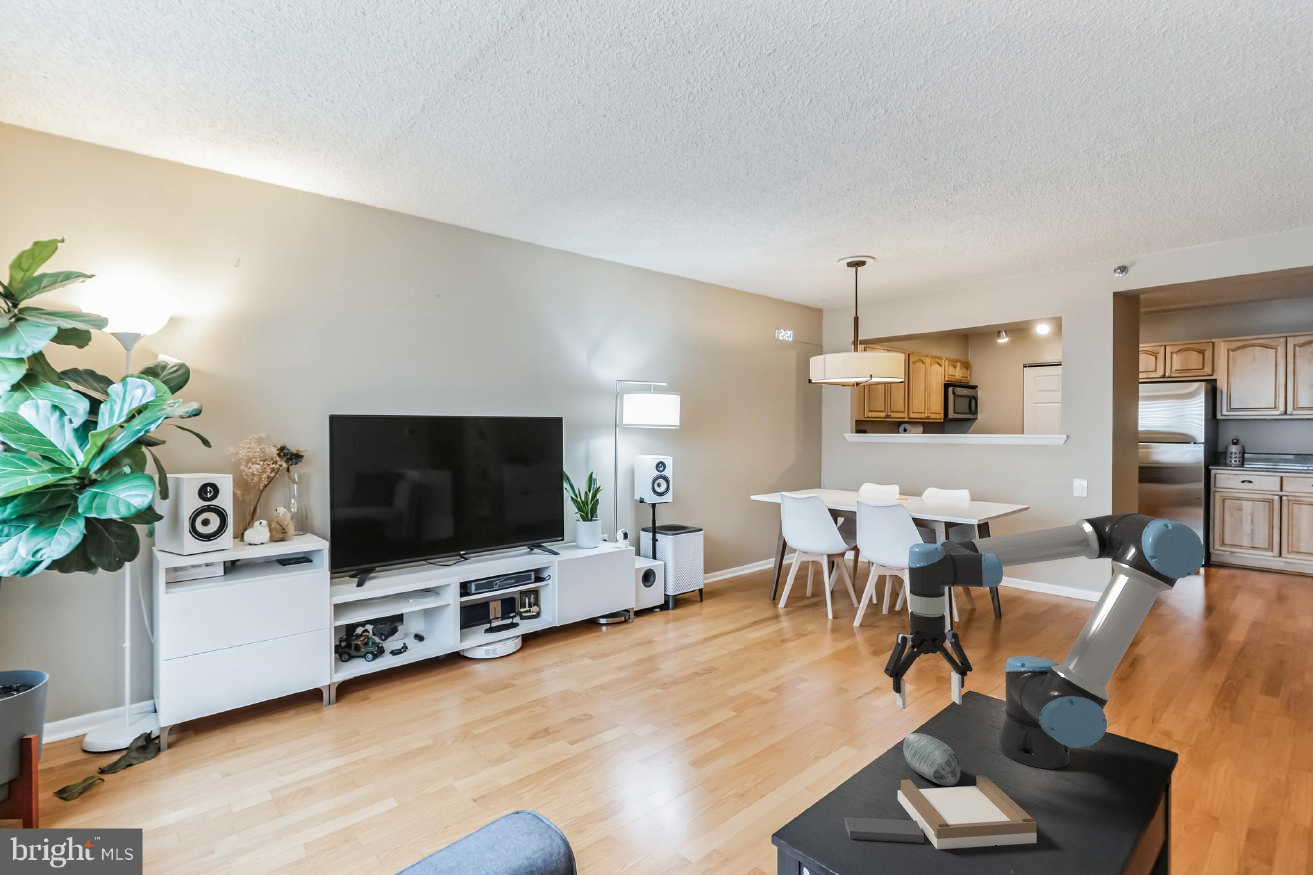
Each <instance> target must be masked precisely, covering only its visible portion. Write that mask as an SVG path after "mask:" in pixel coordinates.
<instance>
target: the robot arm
mask: <svg viewBox="0 0 1313 875" xmlns="http://www.w3.org/2000/svg"><path fill="white" fill-rule="evenodd" d="M1080 557H1085V558H1087V559H1088V560H1096V559H1098V560H1099V559H1111V561H1110V564H1111V565H1112V569H1113V570H1114V572H1113V575H1112V576H1111V577H1110V580H1109V581H1108V583H1107V585H1106V587H1105V588H1104V590H1103V592H1102V594H1101V596H1100V598H1099V599H1098V601H1097V603H1096V604H1095V606H1094V608H1093V610H1092V612H1091V614H1090V615H1089V617H1088V619H1087V621H1086V622H1085V624H1084V625H1083V627H1082V629H1081V631H1080V633H1079V634H1078V636H1077V638H1076V640H1075V642H1074V644H1073V645H1072V647H1071V648H1070V650H1069V652H1068V654H1067V656H1066V657H1065V659H1064V661H1063V663H1061V664H1060V663H1058V662H1057V661H1054V660H1052V659H1049V658H1048V659H1047V658H1042V657H1038V656H1036V657H1035V656H1028V655H1024V656H1022V655H1020V656H1019V655H1018V656H1017V655H1016V656H1012V657H1009V658H1008V659H1007V660H1006V663H1005V670H1004V672H1005V717H1004V719H1003V722H1002V724H1001V728H1000V731H999V733H998V734H997V747H998V749H999V750H1000V752H1001V753H1002V754H1003V755H1005V756H1007V757H1008V758H1009V759H1011V760H1014V761H1015V762H1019V763H1021V764H1023V765H1027V766H1031V767H1034V768H1041V769H1051V770H1054V769H1062V768H1064V767H1066V766H1069V764H1070V762H1071V761H1070V760H1071V759H1070V753H1071V752H1070V749H1069V747H1070V748H1075V749H1078V748H1084V747H1089V746H1092V745H1095V744H1096V743H1097V742H1099V741H1100V740H1101V739H1102V738H1103V737H1104V735H1105V734H1106V731H1107V729H1108V720H1107V719H1106V718H1107V717H1106V714H1105V712H1104V708H1105V707H1106V705H1107V703H1108V702H1109V699H1110V697H1109V696H1108V693H1107V691H1106V687H1107V685H1108V683H1109V682H1110V680H1111V678H1112V677H1113V675H1114V673H1115V671H1116V669H1117V668H1118V666H1119V664H1121V663H1120V662H1121V661H1122V659H1123V657H1124V656H1125V654H1126V652H1127V650H1128V648H1129V647H1130V646H1131V644H1132V641H1133V640H1134V639H1135V636H1136V634H1137V633H1138V631H1139V630H1140V628H1141V626H1142V624H1143V622H1144V621H1145V619H1146V617H1147V616H1148V614H1149V612H1150V611H1151V608H1152V606H1153V605H1154V603H1155V602H1156V600H1157V598H1158V596H1159V595H1160V593H1162V592H1166V591H1172V590H1173V588H1174V587H1175V585H1176V583H1177V581H1178V580H1179V579H1185V578H1187V577H1188V576H1189V577H1190V576H1193V575H1195V574H1196V573H1197V572H1198V571H1199V570H1200V568H1202V565H1203V563H1204V560H1205V547H1204V544H1203V543H1202V540H1201V538H1200V536H1199V535H1198V533H1197V532H1196V531H1195V530H1193V528H1192V527H1190V526H1188V525H1186V524H1183V523H1181V522H1179V521H1176V520H1173V519H1169V518H1161V517H1156V516H1151V515H1146V514H1142V513H1138V512H1137V513H1136V512H1121V513H1120V512H1119V513H1115V514H1106V515H1101V516H1097V517H1096V516H1095V517H1090V518H1084V519H1083V518H1081V519H1078V520H1076V521H1075V523H1074V524H1073V525H1072V524H1071V525H1065V526H1059V527H1052V528H1045V529H1037V530H1031V531H1025V532H1017V533H1010V534H1003V535H998V536H990V537H984V538H977V539H970V540H969V539H968V540H962V541H953V540H947V539H946V540H941V541H937V543H926V542H920V543H915V544H912V545H911V546H910V547H909V548H908V563H907V565H908V580H909V582H908V583H909V594H908V595H909V596H908V597H909V609H910V612H909V627H910V633H909V634H903V633H901V632H899V633H897V635H896V643H895V645H894V647H893V650H892V652H891V655H890V657H889V659H888V661H887V663H886V666H885V668H884V671H883V673H884V674H885V675H886V676H888V677H889V678H890V679H892V690H893V692H894V693H896V695H895V697H896V705H897V706H898V707H899V708H901V709H902V710H906V708H907V707H906V705H907V704H906V703H907V702H906V680H905V679H904V676H905V675H906V674H907V672H908V671H909V669H910V668H911V667H912V665H913V664H914V662H915V661H916V660H917V658H920V656H922V654H923V655H928V654H932V655H933V654H936V655H937V653H939V654H940V655H941V656H942V657H943V659H944V660H945V661H946V662H947V663H948V664H949V666H951V668H952V669H953V671H951V674H950V675H951V676H950V677H951V678H950V679H951V680H950V684H951V685H950V686H951V701H953V702H955V703H956V704H957V705H963V703H962V702H963V701H962V700H963V698H962V694H963V693H962V689H964V688H965V677H967V676H968V672H969V673H971V672H973V670H974V669H973V667H972V665H971V663H970V660H969V658H968V657H967V656H968V655H966V653H965V650H964V649H963V646H962V645H961V643H960V636H959V633H958V632H956V631H954V630H952V629H948V630H947V632H946V629H947V628H946V627H947V626H946V615H945V612H946V591H945V590H946V587H949V588H952V587H953V588H954V587H955V588H983V589H984V588H991V587H992V588H995V587H999V586H1000V585H1001V584H1002V581H1003V577H1004V569H1003V568H1006V567H1014V566H1020V565H1028V564H1036V563H1043V562H1044V563H1045V562H1049V561H1050V562H1051V561H1052V562H1053V561H1059V560H1065V559H1071V558H1080ZM946 641H948V642H949V644H950V646H951V649H952V650H953V652H954V655H955V657H956V658H957V660H958V661H957V660H956V659H955V657H954V656H952V654H951V653H950V652H949V650H948V649H947V648H946V646H945V645H944V644H945V642H946ZM910 642H911V643H910ZM907 646H908V648H907ZM906 650H907V651H906ZM905 652H906V653H905Z"/></svg>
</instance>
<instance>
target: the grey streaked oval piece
mask: <svg viewBox="0 0 1313 875" xmlns="http://www.w3.org/2000/svg"><path fill="white" fill-rule="evenodd" d="M902 751H903V755H904V759H905V760H906V763H907V764H908V766H909V767H910V768H911V769H912V770H913V771H915V772H916V773H917V774H918V775H921V776H922V777H924V778H926V779H927V780H929V781H931V782H934V783H936V784H938V785H941V786H945V787H946V786H947V787H953V786H955V785H956V784H958V782H959V781H960V778H961V765H960V761H959V758H958V756H957V754H956V753H955V751H954V750H953V749H952V748H951V747H950V746H948V744H946V743H945V742H943V741H942V740H940V739H938V738H936V737H934V736H931V735H929V734H925V733H922V732H917V733H916V732H914V733H910V734H907V735H906V736H905V738H904V741H903V750H902Z"/></svg>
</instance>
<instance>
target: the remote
mask: <svg viewBox="0 0 1313 875" xmlns="http://www.w3.org/2000/svg"><path fill="white" fill-rule="evenodd" d="M844 826H845V830H846V832H847V835H848V838H849V840H863V841H864V840H865V841H867V840H868V841H881V842H882V841H884V842H898V843H899V842H902V843H916V844H917V843H919V844H924V843H925V836H924V834H925V833H924V832H923V831H922V830H921V828H920V826H919V824H918V822H917V821H914V820H913V819H910V820H909V819H906V820H905V819H894V818H893V819H889V818H888V819H887V818H871V817H869V818H868V817H850V816H849V817H847V816H845V817H844Z"/></svg>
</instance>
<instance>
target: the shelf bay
mask: <svg viewBox="0 0 1313 875" xmlns="http://www.w3.org/2000/svg"><path fill="white" fill-rule="evenodd" d="M975 777H976V779H975V780H976V782H975V783H976V785H970V786H967V785H966V786H954V787H953V786H948V787H937V788H936V787H934V788H933V787H931V788H918V787H917V786H916V784H914V782H913V781H912V780H911V779H901V780H900V789H898V790H897V801H898V802H899V803H900V804H901V806H902V807H903V809H904V810H905V811H906V812H907V813H908V815H909V816H910V818H911V819H912V820H913V821H917V822H918V824H919V826H920V828H921V830H922V832H923V834H925V836H926V838H927V839H928V840H929V841H930V842H931V843H932V845H933V846H934V847H935V849H936V850H946V849H948V850H949V849H963V848H965V849H967V848H979V847H980V848H981V847H993V846H995V845H997V846H1009V845H1010V846H1011V845H1026V844H1037V824H1038V823H1037V821H1036V820H1035V819H1034V818H1032V816H1030V815H1029V814H1028V813H1027V812H1026V811H1025V810H1024V809H1023V808H1022V807H1021V806H1020V805H1018V804H1017V803H1016V801H1015V800H1013V799H1012V798H1010V796H1009V795H1007V794H1006V793H1005V792H1004V791H1003V790H1002V789H1001V788H999V787H998V786H997V785H996V783H995V782H993V781H992V780H991V779H990V778H989V777H988V776H986V775H976V776H975ZM995 847H996V846H995Z"/></svg>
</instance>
